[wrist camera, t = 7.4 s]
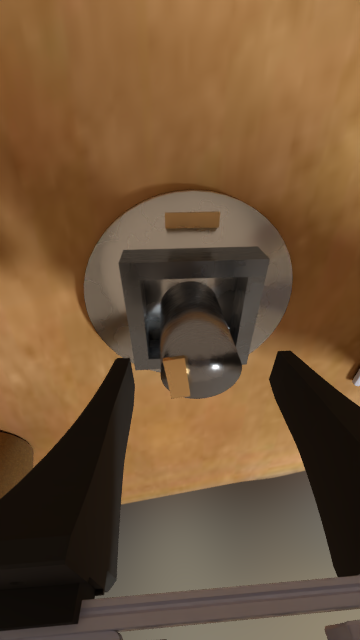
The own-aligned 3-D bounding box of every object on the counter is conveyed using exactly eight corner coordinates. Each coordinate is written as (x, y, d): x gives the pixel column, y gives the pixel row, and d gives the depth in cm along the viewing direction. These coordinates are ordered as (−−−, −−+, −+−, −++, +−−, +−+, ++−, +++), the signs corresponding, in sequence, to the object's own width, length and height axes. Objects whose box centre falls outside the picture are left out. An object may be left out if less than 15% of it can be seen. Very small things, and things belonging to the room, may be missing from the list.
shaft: (218, 325, 18) (241, 396, 13) (165, 333, 18) (167, 406, 13) (216, 277, 16) (244, 339, 11) (155, 285, 16) (153, 352, 11)
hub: (317, 187, 13) (346, 195, 11) (265, 365, 22) (277, 388, 20) (58, 191, 13) (38, 200, 11) (106, 373, 21) (100, 398, 19)
